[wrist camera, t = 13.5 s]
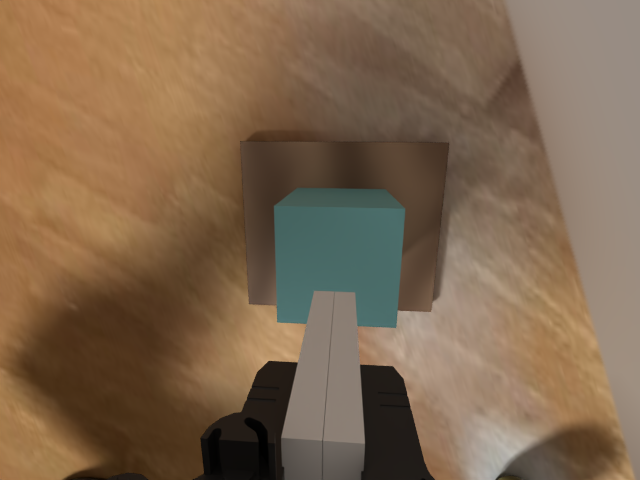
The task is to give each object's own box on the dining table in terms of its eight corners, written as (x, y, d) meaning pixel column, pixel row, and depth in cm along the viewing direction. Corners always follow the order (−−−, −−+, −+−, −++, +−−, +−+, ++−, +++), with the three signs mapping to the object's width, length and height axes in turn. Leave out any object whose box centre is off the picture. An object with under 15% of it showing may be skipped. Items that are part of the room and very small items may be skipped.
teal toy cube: (298, 269, 28) (277, 322, 20) (297, 187, 26) (273, 205, 18) (380, 272, 28) (396, 327, 19) (385, 189, 26) (405, 208, 17)
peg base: (252, 298, 31) (225, 341, 24) (244, 141, 27) (210, 138, 20) (427, 305, 30) (452, 353, 23) (444, 143, 26) (480, 140, 19)
